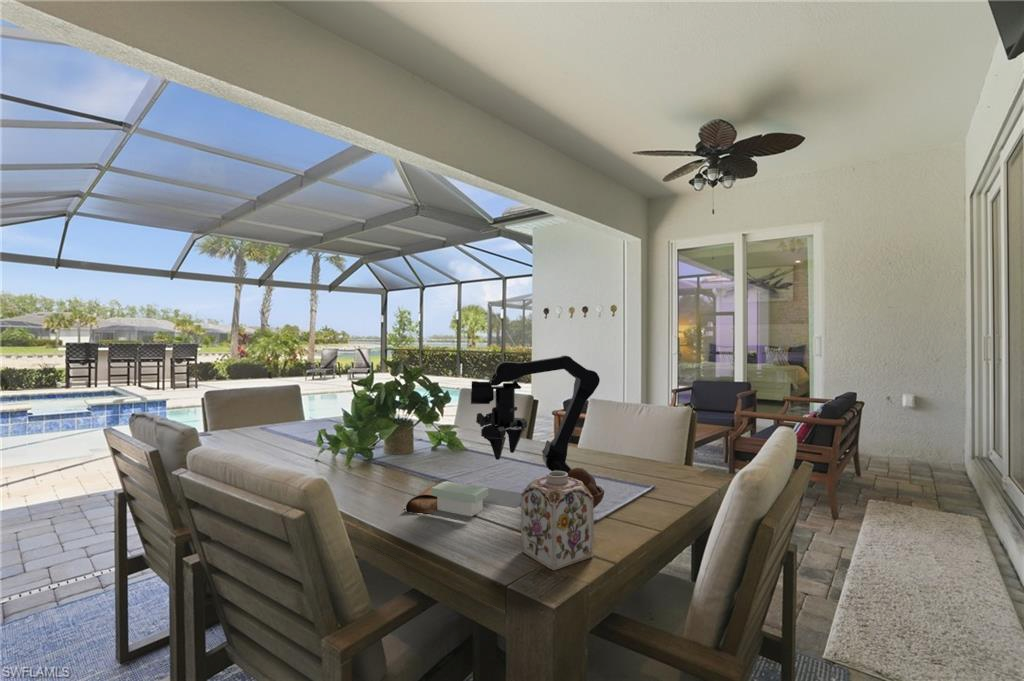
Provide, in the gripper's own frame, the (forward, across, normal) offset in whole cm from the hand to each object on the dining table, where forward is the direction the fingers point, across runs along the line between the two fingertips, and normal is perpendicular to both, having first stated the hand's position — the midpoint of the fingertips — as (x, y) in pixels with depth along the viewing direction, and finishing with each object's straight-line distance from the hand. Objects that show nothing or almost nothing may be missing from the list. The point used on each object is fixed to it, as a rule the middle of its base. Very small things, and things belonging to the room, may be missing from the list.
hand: (505, 456), depth 146 cm
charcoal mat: (+12, +3, -1) cm, 12 cm away
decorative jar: (+12, +29, +28) cm, 42 cm away
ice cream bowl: (+12, +12, +28) cm, 33 cm away
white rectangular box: (+12, +17, -5) cm, 21 cm away
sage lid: (+8, +17, -5) cm, 19 cm away
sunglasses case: (+13, +14, -15) cm, 25 cm away
